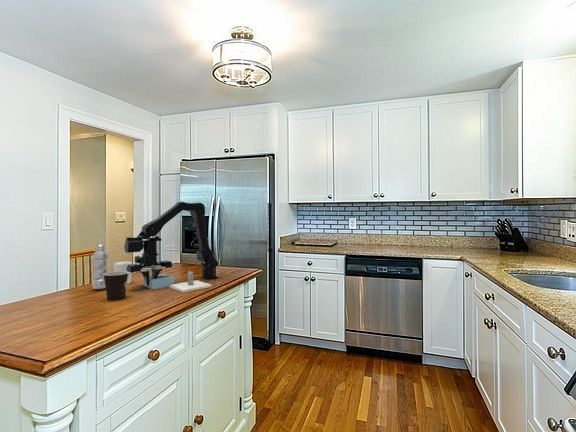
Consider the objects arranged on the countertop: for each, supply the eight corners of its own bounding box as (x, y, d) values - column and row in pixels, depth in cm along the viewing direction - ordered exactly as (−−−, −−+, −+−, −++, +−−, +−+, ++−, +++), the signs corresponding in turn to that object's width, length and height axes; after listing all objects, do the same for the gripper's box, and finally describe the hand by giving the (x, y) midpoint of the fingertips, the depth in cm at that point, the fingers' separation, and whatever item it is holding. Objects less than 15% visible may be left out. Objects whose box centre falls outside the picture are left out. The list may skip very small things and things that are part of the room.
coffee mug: (117, 301, 121) (117, 276, 121) (98, 300, 123) (98, 275, 123) (137, 294, 133) (137, 270, 133) (120, 293, 134) (119, 269, 134)
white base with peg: (196, 282, 155) (196, 268, 155) (211, 286, 146) (211, 271, 146) (169, 287, 145) (169, 272, 145) (183, 292, 136) (183, 276, 136)
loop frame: (164, 282, 155) (164, 274, 155) (174, 285, 148) (174, 277, 148) (143, 285, 148) (143, 277, 148) (152, 289, 141) (152, 280, 141)
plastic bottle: (112, 287, 144) (112, 243, 144) (102, 291, 137) (102, 245, 137) (99, 287, 145) (99, 243, 144) (88, 290, 138) (88, 245, 138)
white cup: (126, 285, 148) (126, 264, 148) (110, 285, 149) (110, 264, 148) (135, 281, 156) (135, 261, 156) (119, 281, 156) (119, 261, 156)
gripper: (162, 247, 157) (162, 279, 157) (122, 251, 144) (122, 285, 144) (172, 249, 149) (172, 282, 150) (131, 253, 136) (131, 289, 136)
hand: (150, 284), depth 145 cm, fingers closed on loop frame, 2 cm apart
